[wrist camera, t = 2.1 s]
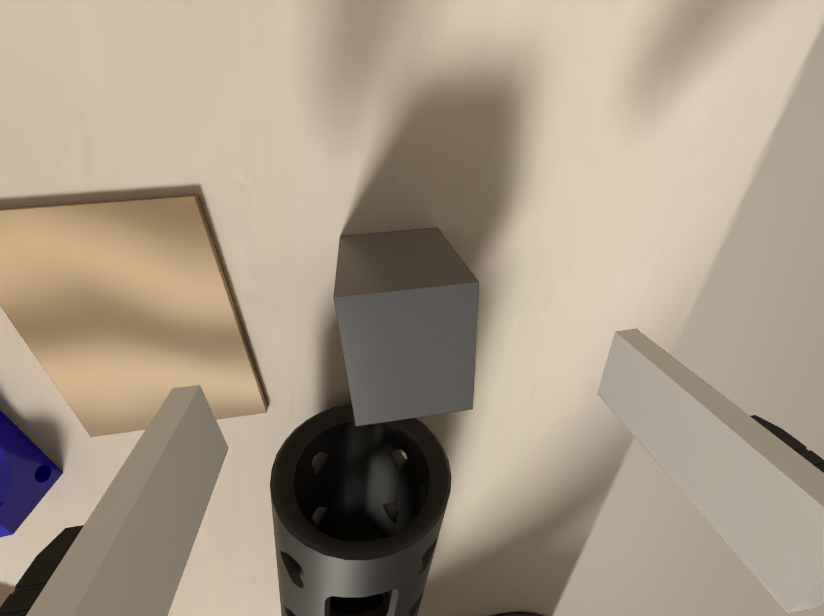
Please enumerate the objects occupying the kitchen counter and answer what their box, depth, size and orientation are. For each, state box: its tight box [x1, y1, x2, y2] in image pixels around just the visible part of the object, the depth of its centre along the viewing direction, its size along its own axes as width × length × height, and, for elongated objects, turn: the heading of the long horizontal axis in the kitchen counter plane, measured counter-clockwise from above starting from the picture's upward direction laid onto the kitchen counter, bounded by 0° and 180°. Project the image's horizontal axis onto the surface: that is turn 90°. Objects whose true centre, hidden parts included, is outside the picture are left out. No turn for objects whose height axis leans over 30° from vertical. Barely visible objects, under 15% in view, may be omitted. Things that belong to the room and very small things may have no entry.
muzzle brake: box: [270, 401, 451, 616], centre depth 25 cm, size 10×28×10 cm, turn 173°
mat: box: [0, 195, 268, 437], centre depth 18 cm, size 13×10×1 cm
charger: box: [334, 228, 479, 426], centre depth 17 cm, size 8×5×7 cm, turn 3°
